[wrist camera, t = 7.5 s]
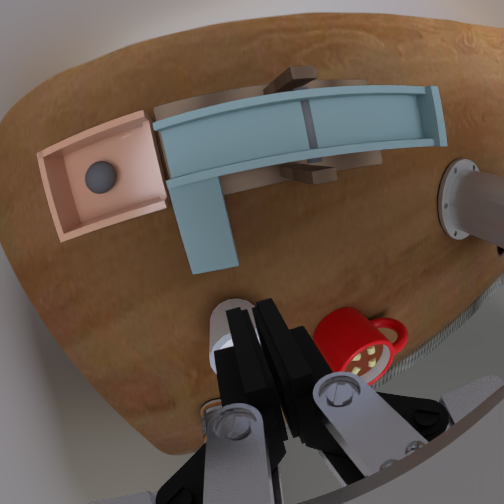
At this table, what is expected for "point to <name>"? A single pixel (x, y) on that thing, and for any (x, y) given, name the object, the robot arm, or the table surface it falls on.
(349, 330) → the mug
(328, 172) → the launcher base
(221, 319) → the white cylinder
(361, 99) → the lever
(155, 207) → the pink open box
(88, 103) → the table surface
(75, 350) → the table surface
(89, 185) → the ball
